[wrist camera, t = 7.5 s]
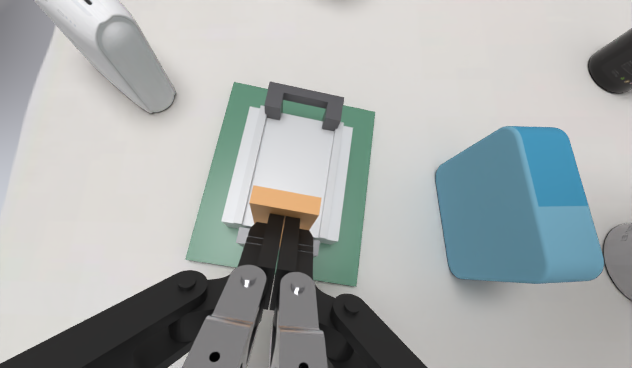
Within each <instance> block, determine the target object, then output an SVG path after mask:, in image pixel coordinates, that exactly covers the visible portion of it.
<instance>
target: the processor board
mask: <svg viewBox="0 0 632 368" xmlns="http://www.w3.org/2000/svg"><path fill="white" fill-rule="evenodd" d="M343 102H344V97H339V96H335V95H330V94H325V93H321V92H316V91H311V90H307V89H302V88H297V87H293V86H288V85H283V84H279V83H274V82H270V83H269V87H268V89H265V88H260V87H255V86H251V85H246V84H241V83H236V82H234V84H233V88H232V91H231V95H230V98H229V102H228V106H227V109H226V113H225V117H224V120H223V124H222V128H221V131H220V135H219V139H218V142H217V146H216V149H215V153H214V157H213V160H212V164H211V168H210V171H209V175H208V179H207V182H206V186H205V190H204V193H203V197H202V200H201V204H200V208H199V211H198V215H197V219H196V222H195V226H194V230H193V233H192V237H191V241H190V244H189V248H188V251H187V255H186V260H192V261H198V262H205V263H211V264H217V265H223V266H230V267H236V268H237V266H238V264H239V260H240V257H241V254H242V251H243V248H244V245H245V243H246V239H247V237H248V233H249V230H250V228H251V227H252V226H253V225H254V221H253V216H252V212H251V208H250V204H249V202H250V198H251V193H252V189H253V185H255V186H260V187H266V188H271V189H277V190H282V191H288V192H293V193H299V194H304V195H309V196H315V197H320V198H321V205H320V212H319V216H318V218H317V219H316V221H315V222H314V224H313V225H312V227H311V228H310V230H309V231H310V232H311V234H312V236H313V280H318V281H324V282H330V283H336V284H343V285H349V286H355V287H356V284H357V275H358V266H359V256H360V247H361V238H362V229H363V219H364V210H365V201H366V192H367V182H368V173H369V164H370V155H371V145H372V136H373V127H374V118H375V112H373V111H368V110H363V109H359V108H354V107H349V106H344V105H343ZM278 256H279V251H278ZM277 262H278V257H277ZM276 268H277V263H276ZM276 268H275V274H276Z"/></svg>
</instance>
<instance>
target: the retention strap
mask: <svg viewBox="0 0 632 368" xmlns="http://www.w3.org/2000/svg"><path fill="white" fill-rule="evenodd" d="M249 204H250V208H251V212H252V216H253V221H254V224H255V223H256V222H261V223H267V222H268V218H269V214H270V213H271V214H277V215H283V216H284V222H283V227H282V233H281V239H282V234H283V228H284V223H285V218H286V216H289V217H294V218H300V229H304V230H310V228H311V227H312V225H313V224H314V222H315V221H316V219H317V218H318V216H319V212H320V205H321V198H320V197H315V196H309V195H304V194H299V193H293V192H288V191H282V190H277V189H271V188H266V187H260V186H255V185H253V189H252V193H251V198H250V202H249ZM281 239H280V245H281ZM280 245H279V250H280Z"/></svg>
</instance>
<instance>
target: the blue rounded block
mask: <svg viewBox="0 0 632 368" xmlns="http://www.w3.org/2000/svg"><path fill="white" fill-rule="evenodd" d="M436 187H437V193H438V200H439V206H440V213H441V219H442V226H443V232H444V239H445V245H446V252H447V258H448V264H449V267H450V270H451V272H452V273H453V274H454V275H455V276H456V277H457V278H459V279H469V280H485V281H501V282H517V283H533V284H541V283H559V282H576V281H589V280H593V279H595V278H597V277H598V276H599V275H600V274H601V272H602V270H603V267H604V258H603V254H602V251H601V247H600V244H599V240H598V237H597V234H596V230H595V227H594V223H593V220H592V216H591V213H590V209H589V206H588V203H587V199H586V196H585V192H584V189H583V185H582V182H581V178H580V175H579V172H578V168H577V165H576V161H575V158H574V154H573V151H572V147H571V144H570V141H569V138H568V136H567V135H566V133H565V132H564V131H562V130H560V129H558V128H553V127H518V126H506V127H502V128H500V129H498V130H497V131H495V132H493V133H492V134H490V135H488V136H487V137H485V138H484V139H482V140H480V141H479V142H477V143H475V144H474V145H472V146H471V147H469V148H467V149H466V150H464V151H462V152H461V153H459V154H458V155H456V156H454V157H453V158H451V159H449V160H448V161H446V162H445V163H443V164H441V165H440V166H439V168H438V170H437V172H436Z"/></svg>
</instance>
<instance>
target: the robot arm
mask: <svg viewBox="0 0 632 368" xmlns="http://www.w3.org/2000/svg"><path fill="white" fill-rule="evenodd" d="M283 222H284V216H283V215H277V214H271V213H270V214H269V218H268V222H267V223H261V222H256V223H255V224H254V225H253V226H252V227H251V228H250V230H249V233H248V237H247V239H246V243H245V245H244V248H243V251H242V254H241V257H240V260H239V264H238V266H237V268H236V269H234V270H233V271H232V273H231V274H230V275H228V276H226V277H224V278H220V279H212V280H207V278H206V277H205V276H204V275H203V274H202V273H200V272H198V271H193V270H188V271H182V272H179V273H177V274H175V275H173V276H171V277H169V278H167V279H165V280H163V281H161V282H159V283H157V284H155V285H153V286H151V287H149V288H147V289H145V290H143V291H142V292H140V293H138V294H136V295H134V296H132V297H130V298H128V299H126V300H124V301H122V302H120V303H118V304H116V305H114V306H112V307H110V308H108V309H106V310H104V311H102V312H100V313H99V314H97V315H95V316H93V317H91V318H89V319H87V320H85V321H83V322H81V323H79V324H77V325H75V326H73V327H71V328H69V329H67V330H65V331H63V332H61V333H59V334H57V335H56V336H54V337H52V338H50V339H48V340H46V341H44V342H42V343H40V344H38V345H36V346H34V347H32V348H30V349H28V350H26V351H24V352H22V353H20V354H18V355H16V356H15V357H13V358H11V359H9V360H7V361H5V362H3V363H1V364H0V368H168V367H169V366H170V365H172V364H173V363H174V362H176V361H177V360H178V359H180V358H181V357H182V356H184V355H185V354H186V353H188V352H189V351H190V352H189V354H188V356H187V358H186V360H185V362H184V365H183V367H182V368H247V366H248V362H249V359H250V355H251V352H252V348H253V344H254V341H255V337H256V334H257V330H258V326H259V323H260V321H261V318H262V313H263V309H267V310H268V307H269V301H270V296H271V290H272V285H273V279H274V274H275V268H276V263H277V268H276V274H275V280H274V286H273V292H272V298H271V304H270V310H274V317H273V323H272V328H271V341H270V356H269V368H427V367H426V366H425V365H424V364H423V363H422V361H421V360H420V359H419V358H418V357H417V356H416V355H415V354H414V353H413V352H412V351H411V350H410V349H409V348H408V347H407V346H406V345H405V344H404V343H403V342H402V341H401V340H400V339H399V338H398V337H397V335H396V334H395V333H394V332H393V331H392V330H391V329H390V328H389V327H388V326H387V325H386V324H385V323H384V322H383V321H382V320H381V319H380V318H379V317H378V316H377V315H376V314H375V313H374V312H373V311H372V309H371V308H370V307H369V306H368V305H367V304H366V303H365V302H364V301H363V300H362V299H360V298H359V297H357V296H355V295H352V294H341V295H339V296H337V297H336V298H334V297H331V296H329V295H327V294H325V293H323V292H322V291H320V290H319V289H318V288H317V287H316V285H315V283H314V281H313V236H312V234H311V232H310V231H309V230H304V229H300V218H294V217H289V216H286V218H285V223H284V228H283V234H282V239H281V233H282V227H283ZM280 239H281V245H280ZM279 245H280V250H279ZM278 251H279V256H278ZM277 257H278V262H277ZM604 259H605V264H606V267H607V270H608V272H609V275H610V276H611V278H612V280H613V282H614V283H615V285H616V286H617V287H618V288H619V290H620V291H621V292H622V293H623V294H624V295H626V296H627V297H628V298H629V299H631V300H632V223H626V224H622V225H618V226H616V227H615V228H613V229H612V230H611V231H610V233H609V234H608V236H607V238H606V240H605V245H604Z"/></svg>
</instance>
